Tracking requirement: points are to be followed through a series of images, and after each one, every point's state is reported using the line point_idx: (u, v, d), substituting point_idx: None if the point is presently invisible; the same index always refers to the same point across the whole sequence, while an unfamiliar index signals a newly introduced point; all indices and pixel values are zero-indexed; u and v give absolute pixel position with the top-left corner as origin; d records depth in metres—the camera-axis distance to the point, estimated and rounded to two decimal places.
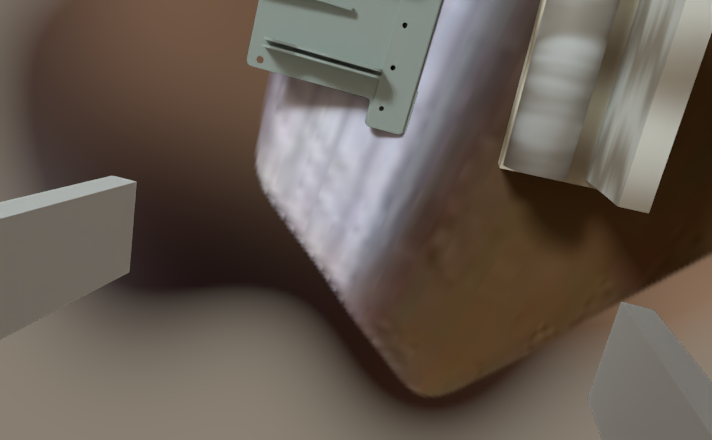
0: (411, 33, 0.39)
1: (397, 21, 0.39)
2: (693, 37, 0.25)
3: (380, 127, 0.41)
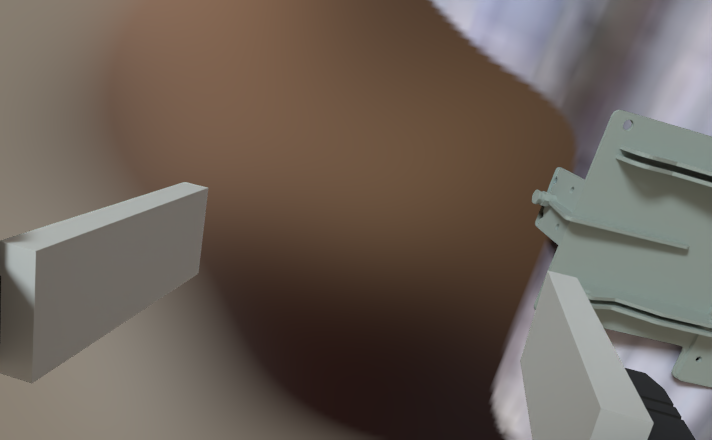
0: None
1: None
2: None
3: (693, 380, 0.31)
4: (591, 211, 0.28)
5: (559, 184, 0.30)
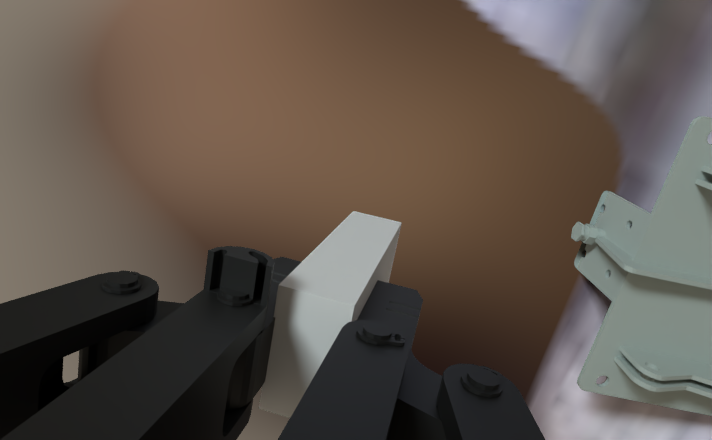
0: None
1: None
2: None
3: None
4: (659, 256, 0.20)
5: (608, 214, 0.22)
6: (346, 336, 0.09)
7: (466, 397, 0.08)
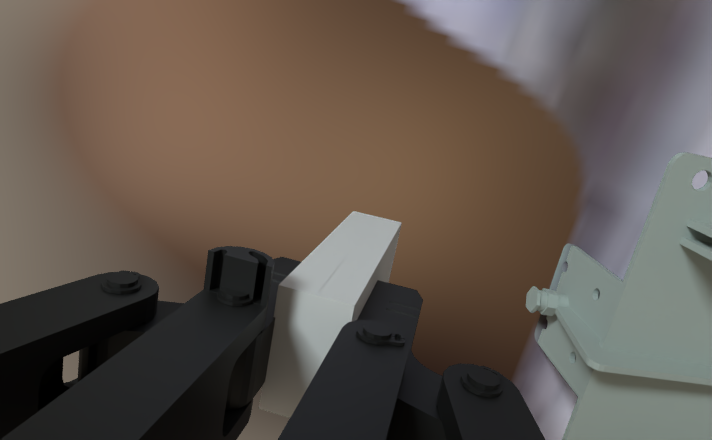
0: None
1: None
2: None
3: None
4: (636, 340, 0.15)
5: (572, 276, 0.17)
6: (346, 336, 0.09)
7: (466, 397, 0.08)
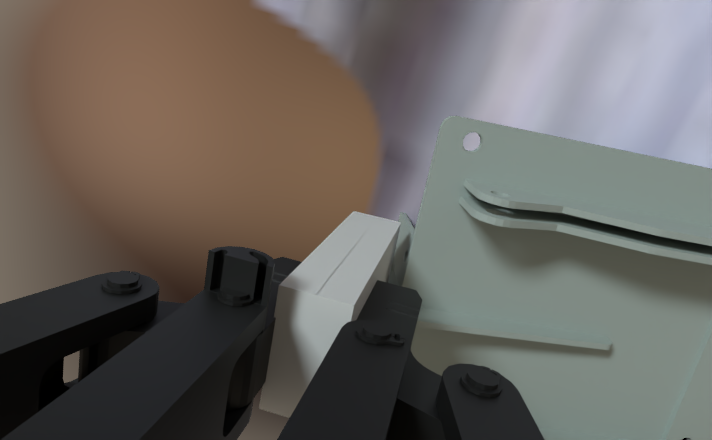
0: None
1: (704, 354, 0.17)
2: None
3: None
4: (430, 296, 0.16)
5: (398, 242, 0.18)
6: (345, 336, 0.09)
7: (465, 397, 0.08)
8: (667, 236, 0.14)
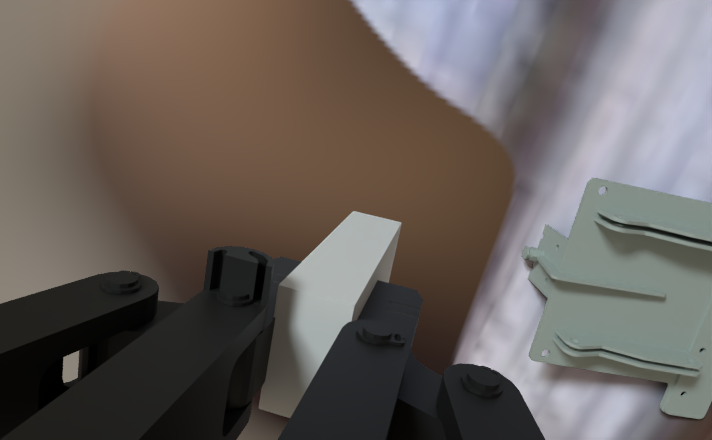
0: None
1: None
2: None
3: (680, 413, 0.34)
4: (575, 268, 0.30)
5: (545, 240, 0.33)
6: (346, 336, 0.09)
7: (466, 397, 0.08)
8: (698, 238, 0.28)
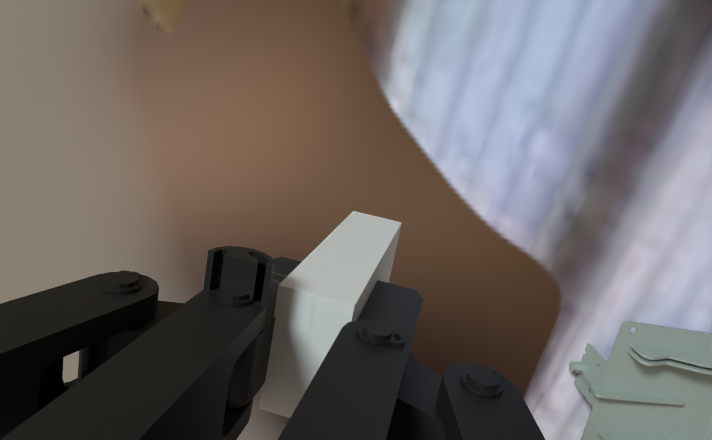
0: None
1: None
2: None
3: None
4: (613, 385, 0.40)
5: (588, 356, 0.42)
6: (346, 336, 0.09)
7: (466, 397, 0.08)
8: (708, 367, 0.37)
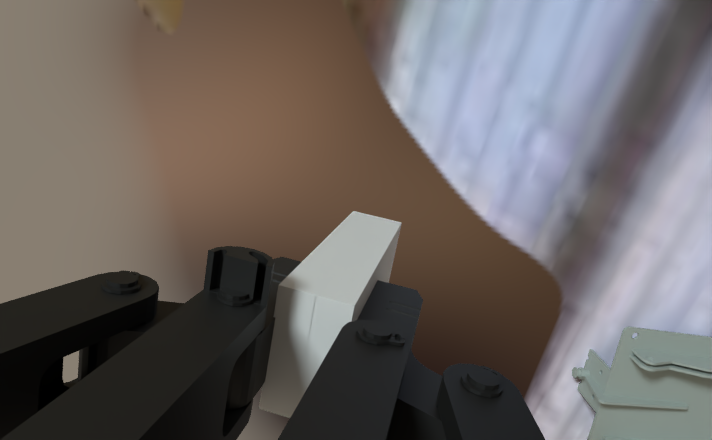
0: None
1: None
2: None
3: None
4: (616, 391, 0.40)
5: (590, 362, 0.42)
6: (346, 336, 0.09)
7: (466, 397, 0.08)
8: (710, 371, 0.38)
